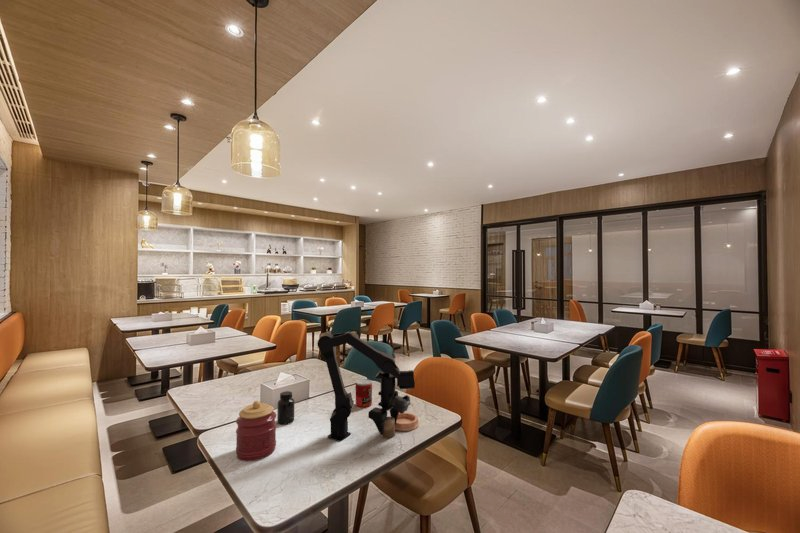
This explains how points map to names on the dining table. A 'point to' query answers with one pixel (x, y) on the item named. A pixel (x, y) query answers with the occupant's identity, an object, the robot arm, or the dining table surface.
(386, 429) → the bead
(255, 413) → the canister
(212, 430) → the dining table surface
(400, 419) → the dish
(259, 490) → the dining table surface
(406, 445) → the dining table surface
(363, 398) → the canned food
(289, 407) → the supplement bottle
